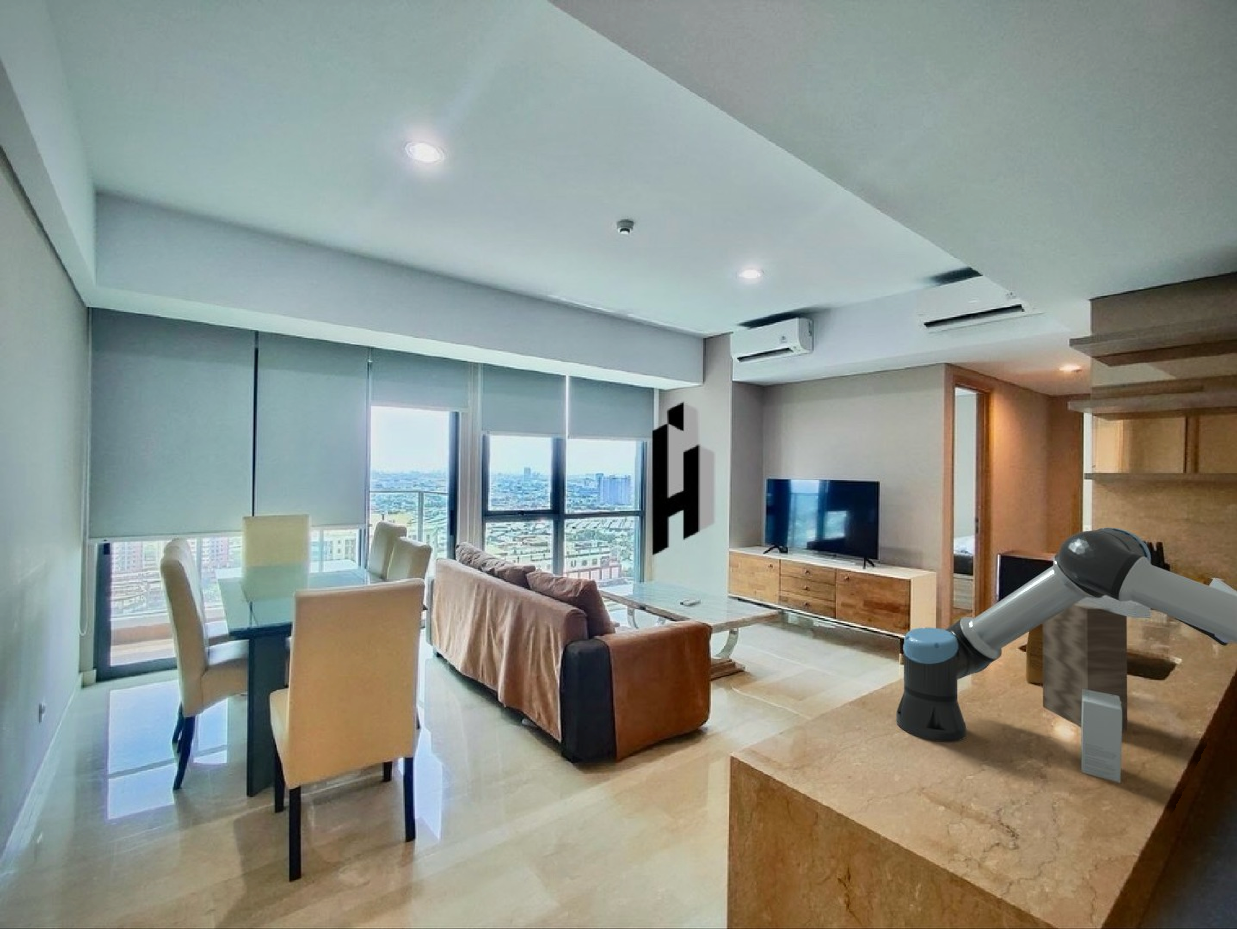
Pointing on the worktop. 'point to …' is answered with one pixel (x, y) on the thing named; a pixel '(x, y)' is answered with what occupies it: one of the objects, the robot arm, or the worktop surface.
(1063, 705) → the walnut stand
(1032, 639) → the brown bottle
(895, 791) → the worktop surface
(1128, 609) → the steel bar
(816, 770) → the worktop surface
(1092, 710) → the skincare box
